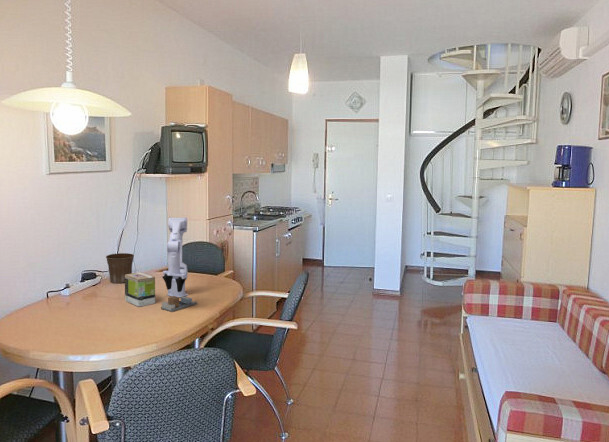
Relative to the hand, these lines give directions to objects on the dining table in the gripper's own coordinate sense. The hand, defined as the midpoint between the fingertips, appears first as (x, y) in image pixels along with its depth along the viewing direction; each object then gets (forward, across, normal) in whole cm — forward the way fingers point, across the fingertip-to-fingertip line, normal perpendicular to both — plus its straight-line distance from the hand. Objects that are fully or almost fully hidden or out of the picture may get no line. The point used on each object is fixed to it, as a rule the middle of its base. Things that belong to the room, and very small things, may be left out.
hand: (174, 290), depth 243 cm
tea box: (+10, -22, -4) cm, 24 cm away
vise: (+9, 0, +3) cm, 10 cm away
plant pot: (+10, -66, +18) cm, 69 cm away
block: (+9, 0, -1) cm, 9 cm away
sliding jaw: (+8, 0, +8) cm, 12 cm away
